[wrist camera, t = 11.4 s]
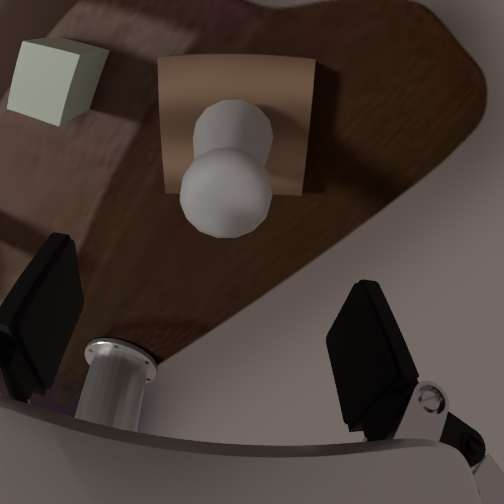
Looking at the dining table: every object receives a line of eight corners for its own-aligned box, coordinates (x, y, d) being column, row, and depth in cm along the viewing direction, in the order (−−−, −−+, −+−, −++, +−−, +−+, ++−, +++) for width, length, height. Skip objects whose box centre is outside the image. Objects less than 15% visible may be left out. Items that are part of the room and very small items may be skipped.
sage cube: (89, 109, 25) (59, 126, 20) (42, 93, 24) (6, 108, 19) (110, 50, 22) (80, 54, 17) (59, 36, 20) (22, 41, 16)
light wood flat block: (296, 181, 31) (301, 195, 28) (172, 179, 30) (165, 193, 28) (308, 57, 23) (315, 59, 21) (166, 55, 23) (157, 57, 20)
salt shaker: (271, 94, 23) (297, 144, 12) (269, 161, 26) (288, 258, 16) (195, 96, 23) (151, 147, 12) (199, 162, 26) (169, 259, 16)
